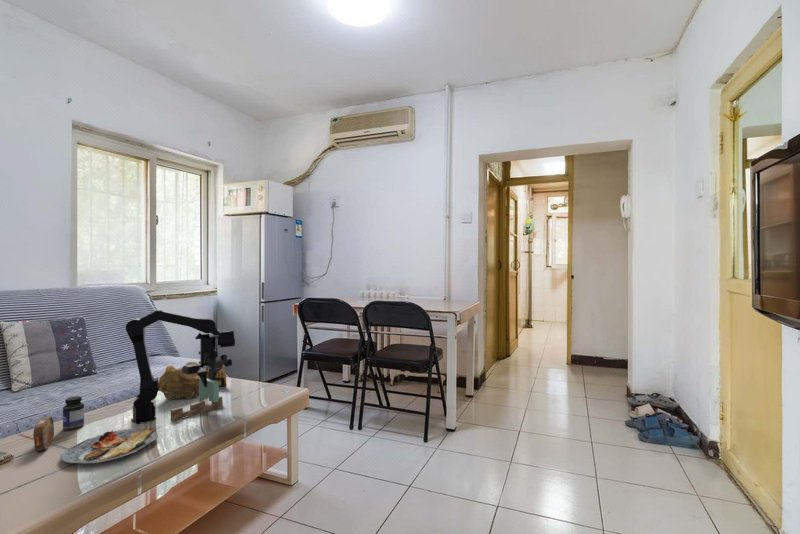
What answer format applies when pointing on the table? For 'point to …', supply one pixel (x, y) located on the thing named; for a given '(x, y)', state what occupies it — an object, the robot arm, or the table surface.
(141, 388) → the robot arm
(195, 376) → the rough brown rock
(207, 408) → the notched base plate
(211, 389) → the notched crosspiece
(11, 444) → the table surface
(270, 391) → the table surface
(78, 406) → the pill bottle
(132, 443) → the food plate
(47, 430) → the brown patterned slab
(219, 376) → the ammunition clip
